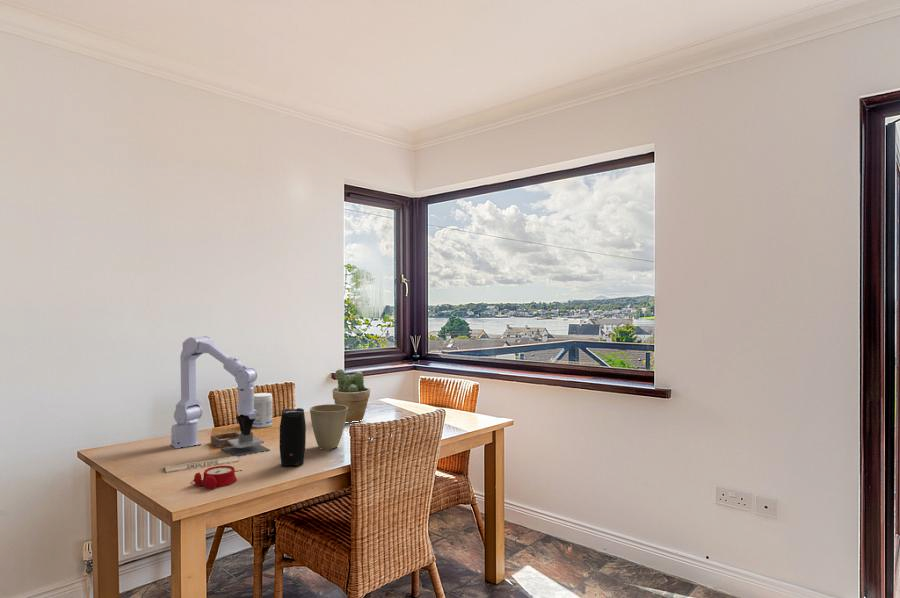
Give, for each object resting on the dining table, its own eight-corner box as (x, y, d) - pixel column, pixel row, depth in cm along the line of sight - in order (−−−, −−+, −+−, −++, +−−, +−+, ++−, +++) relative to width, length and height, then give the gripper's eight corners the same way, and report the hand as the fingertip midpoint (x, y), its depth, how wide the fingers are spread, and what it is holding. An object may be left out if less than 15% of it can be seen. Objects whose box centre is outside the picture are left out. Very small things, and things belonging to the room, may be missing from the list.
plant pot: (304, 452, 210) (305, 411, 210) (315, 442, 225) (315, 403, 225) (342, 453, 210) (343, 411, 210) (350, 443, 224) (351, 404, 225)
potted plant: (371, 416, 275) (372, 367, 275) (368, 425, 257) (368, 372, 257) (335, 416, 274) (335, 367, 274) (329, 425, 256) (329, 372, 256)
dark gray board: (233, 457, 202) (233, 456, 202) (220, 449, 213) (220, 448, 213) (269, 450, 212) (269, 449, 212) (256, 443, 222) (256, 442, 222)
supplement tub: (267, 422, 260) (268, 392, 260) (275, 426, 253) (275, 394, 253) (247, 425, 254) (247, 394, 254) (254, 429, 246) (255, 396, 246)
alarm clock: (246, 468, 178) (207, 470, 165) (242, 488, 177) (203, 491, 164) (225, 463, 183) (186, 464, 170) (221, 482, 182) (181, 485, 169)
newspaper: (234, 459, 202) (234, 454, 202) (239, 464, 196) (239, 459, 196) (163, 470, 188) (163, 465, 188) (166, 475, 183) (166, 470, 183)
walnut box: (219, 448, 214) (219, 440, 214) (210, 443, 222) (211, 435, 222) (244, 443, 221) (244, 436, 221) (235, 439, 229) (235, 432, 229)
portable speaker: (298, 469, 189) (298, 413, 189) (274, 466, 191) (274, 411, 191) (309, 461, 198) (310, 408, 198) (286, 459, 200) (287, 406, 200)
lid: (237, 449, 205) (237, 437, 205) (227, 444, 213) (227, 432, 213) (263, 445, 212) (263, 433, 212) (253, 439, 220) (253, 428, 220)
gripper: (263, 401, 210) (262, 436, 209) (249, 396, 220) (248, 429, 220) (245, 403, 205) (244, 439, 205) (231, 397, 216) (231, 432, 216)
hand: (245, 434), depth 212 cm, fingers closed on lid
